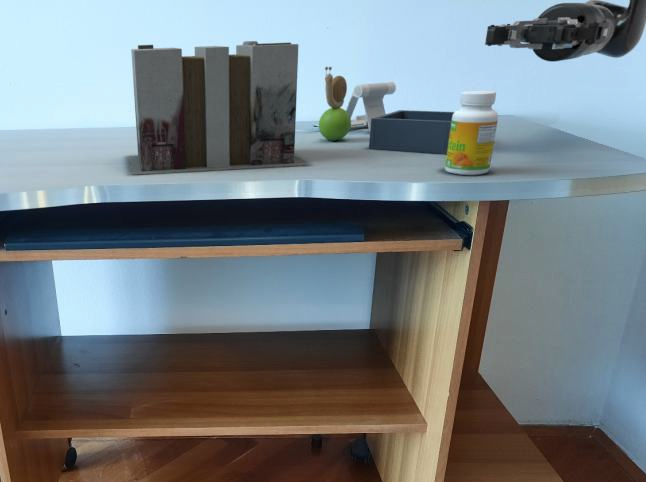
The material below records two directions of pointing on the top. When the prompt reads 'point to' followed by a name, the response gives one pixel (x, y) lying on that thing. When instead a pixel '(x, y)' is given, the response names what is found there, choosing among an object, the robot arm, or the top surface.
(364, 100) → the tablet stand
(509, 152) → the top surface
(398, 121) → the bin
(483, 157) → the supplement bottle
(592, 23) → the robot arm
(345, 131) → the snail figurine
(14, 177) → the top surface
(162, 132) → the building model
